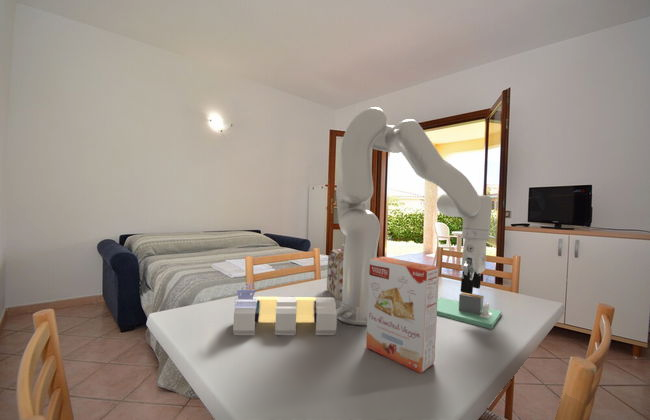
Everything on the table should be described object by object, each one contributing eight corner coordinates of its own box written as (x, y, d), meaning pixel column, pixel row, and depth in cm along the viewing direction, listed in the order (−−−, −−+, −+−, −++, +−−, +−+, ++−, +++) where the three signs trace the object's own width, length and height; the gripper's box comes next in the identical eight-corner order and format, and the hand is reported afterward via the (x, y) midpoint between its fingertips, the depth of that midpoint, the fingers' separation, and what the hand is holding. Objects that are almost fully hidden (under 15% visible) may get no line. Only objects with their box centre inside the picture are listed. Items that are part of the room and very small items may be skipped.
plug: (479, 315, 91) (480, 298, 90) (458, 310, 94) (459, 293, 94) (482, 312, 94) (483, 295, 94) (462, 307, 97) (463, 291, 97)
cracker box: (364, 349, 69) (368, 257, 69) (379, 341, 73) (383, 255, 73) (421, 375, 59) (426, 269, 59) (435, 364, 63) (440, 265, 63)
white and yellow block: (232, 338, 73) (234, 284, 72) (240, 321, 83) (242, 273, 83) (335, 337, 75) (337, 285, 75) (330, 321, 85) (332, 275, 85)
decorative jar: (326, 289, 116) (327, 242, 115) (354, 288, 119) (356, 242, 119) (336, 299, 104) (338, 247, 104) (367, 297, 108) (369, 247, 107)
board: (491, 328, 84) (492, 313, 84) (424, 311, 96) (425, 298, 96) (501, 314, 95) (502, 301, 95) (440, 300, 107) (440, 289, 107)
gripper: (482, 237, 84) (477, 298, 84) (494, 235, 98) (489, 288, 98) (454, 234, 89) (449, 291, 89) (469, 233, 102) (464, 283, 103)
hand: (470, 290), depth 93 cm, fingers open, 9 cm apart
